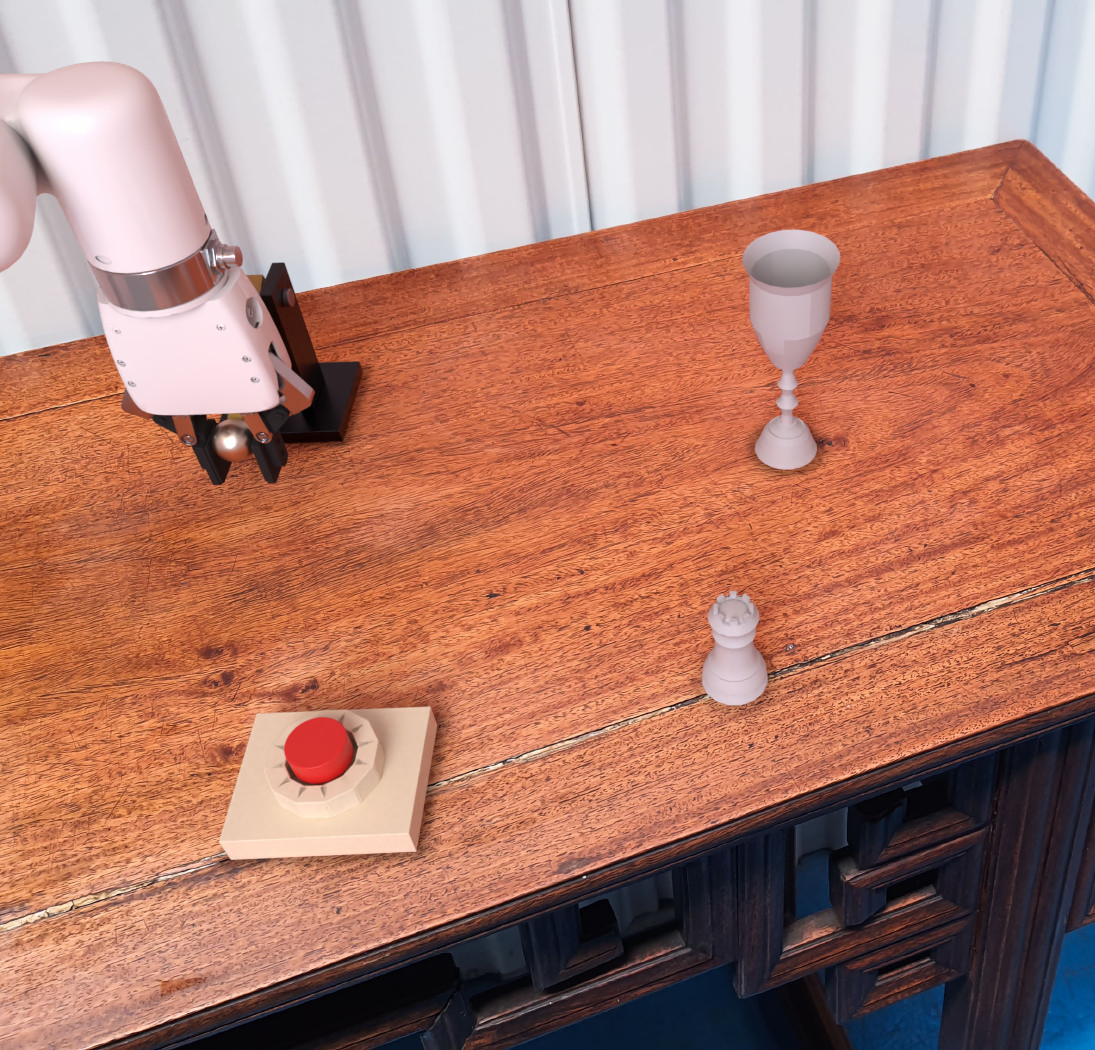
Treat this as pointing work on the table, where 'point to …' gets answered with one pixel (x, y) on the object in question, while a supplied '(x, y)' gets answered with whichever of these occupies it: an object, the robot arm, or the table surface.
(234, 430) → the switch lever
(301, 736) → the red button
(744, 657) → the rook chess piece
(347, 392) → the switch bracket
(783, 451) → the chalice
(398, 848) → the control box
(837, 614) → the table surface
